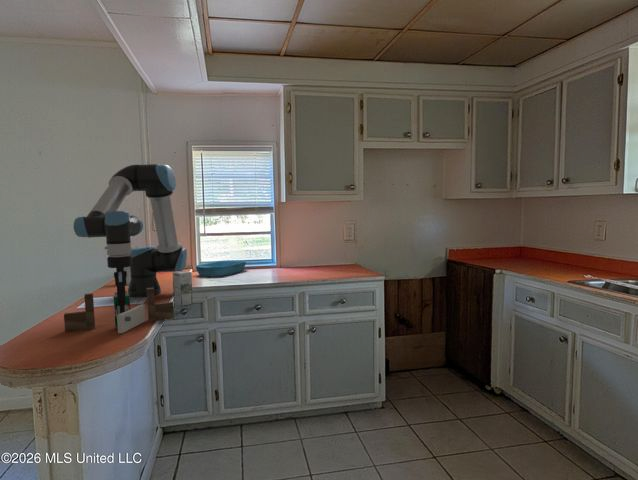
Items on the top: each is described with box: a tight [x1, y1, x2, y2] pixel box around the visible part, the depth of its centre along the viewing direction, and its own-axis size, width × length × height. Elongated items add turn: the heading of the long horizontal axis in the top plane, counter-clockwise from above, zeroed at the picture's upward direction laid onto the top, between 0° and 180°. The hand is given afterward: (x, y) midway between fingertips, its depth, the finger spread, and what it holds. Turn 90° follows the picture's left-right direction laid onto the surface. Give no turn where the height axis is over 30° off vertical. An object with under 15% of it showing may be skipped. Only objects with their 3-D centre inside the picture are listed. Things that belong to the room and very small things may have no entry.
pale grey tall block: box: [124, 245, 138, 286], centre depth 227 cm, size 7×6×21 cm
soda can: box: [113, 290, 131, 329], centre depth 141 cm, size 5×5×12 cm
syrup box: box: [172, 270, 193, 308], centre depth 173 cm, size 6×6×14 cm
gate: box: [117, 304, 147, 334], centre depth 140 cm, size 15×3×6 cm, turn 175°
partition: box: [63, 288, 175, 333], centre depth 145 cm, size 3×35×12 cm, turn 116°
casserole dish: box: [194, 259, 247, 278], centre depth 260 cm, size 37×22×7 cm, turn 158°
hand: (123, 321), depth 141 cm, fingers closed on soda can, 5 cm apart
